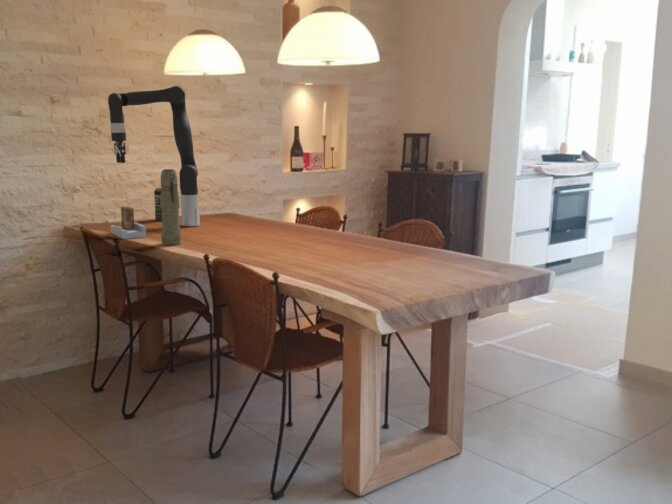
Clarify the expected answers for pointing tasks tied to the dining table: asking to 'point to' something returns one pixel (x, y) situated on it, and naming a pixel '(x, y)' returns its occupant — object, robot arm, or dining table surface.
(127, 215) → the brown wooden block
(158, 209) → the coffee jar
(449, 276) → the dining table surface
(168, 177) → the thermos
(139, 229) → the tray
